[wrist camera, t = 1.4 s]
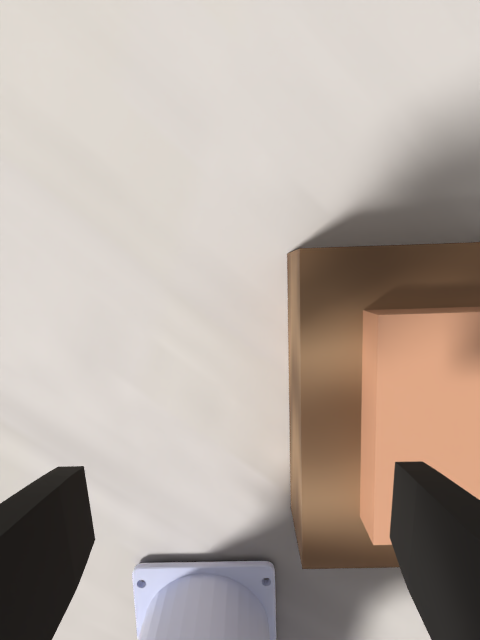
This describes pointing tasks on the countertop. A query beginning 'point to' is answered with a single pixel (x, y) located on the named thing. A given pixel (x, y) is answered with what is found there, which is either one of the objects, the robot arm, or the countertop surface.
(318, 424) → the board
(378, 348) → the tile
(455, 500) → the robot arm
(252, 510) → the countertop surface
